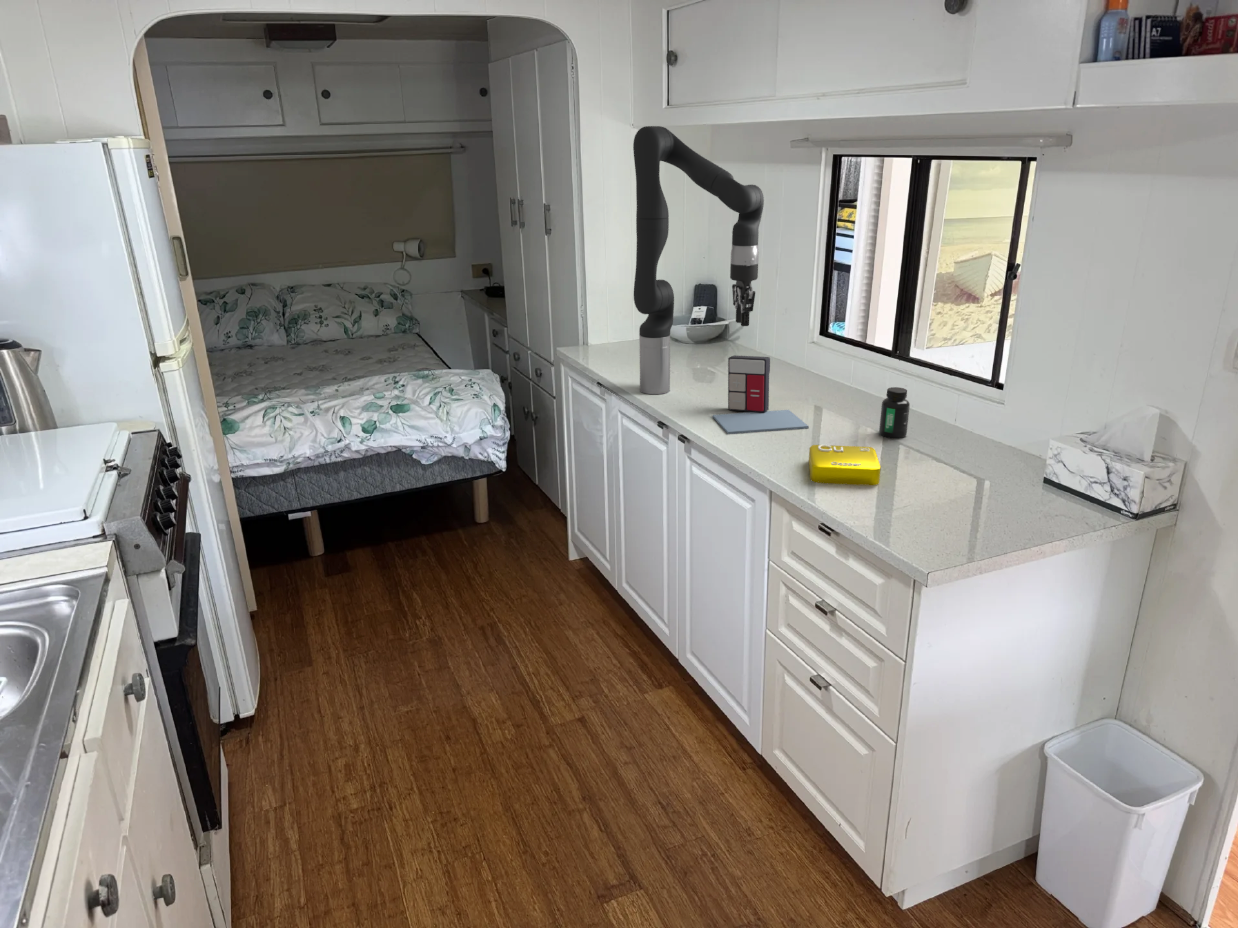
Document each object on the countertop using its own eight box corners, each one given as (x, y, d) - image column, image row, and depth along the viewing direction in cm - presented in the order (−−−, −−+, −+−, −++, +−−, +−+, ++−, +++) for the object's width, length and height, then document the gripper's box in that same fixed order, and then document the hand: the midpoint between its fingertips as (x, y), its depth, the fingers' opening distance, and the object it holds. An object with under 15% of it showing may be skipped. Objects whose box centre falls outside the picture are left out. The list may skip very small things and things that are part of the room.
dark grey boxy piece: (726, 410, 241) (727, 357, 237) (732, 407, 245) (732, 355, 241) (764, 413, 236) (765, 359, 232) (769, 410, 240) (770, 357, 236)
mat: (712, 417, 237) (712, 414, 237) (788, 411, 240) (788, 409, 240) (727, 434, 223) (728, 431, 223) (808, 428, 226) (808, 426, 226)
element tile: (810, 484, 191) (812, 464, 189) (808, 460, 205) (809, 442, 203) (880, 487, 189) (882, 467, 187) (873, 463, 202) (874, 444, 201)
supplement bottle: (890, 440, 216) (895, 394, 212) (873, 432, 222) (877, 387, 218) (912, 436, 219) (917, 391, 214) (894, 429, 225) (899, 384, 220)
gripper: (723, 259, 240) (722, 320, 246) (738, 266, 227) (736, 330, 233) (749, 258, 241) (747, 318, 247) (766, 264, 228) (763, 328, 234)
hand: (742, 324), depth 240 cm, fingers open, 4 cm apart
